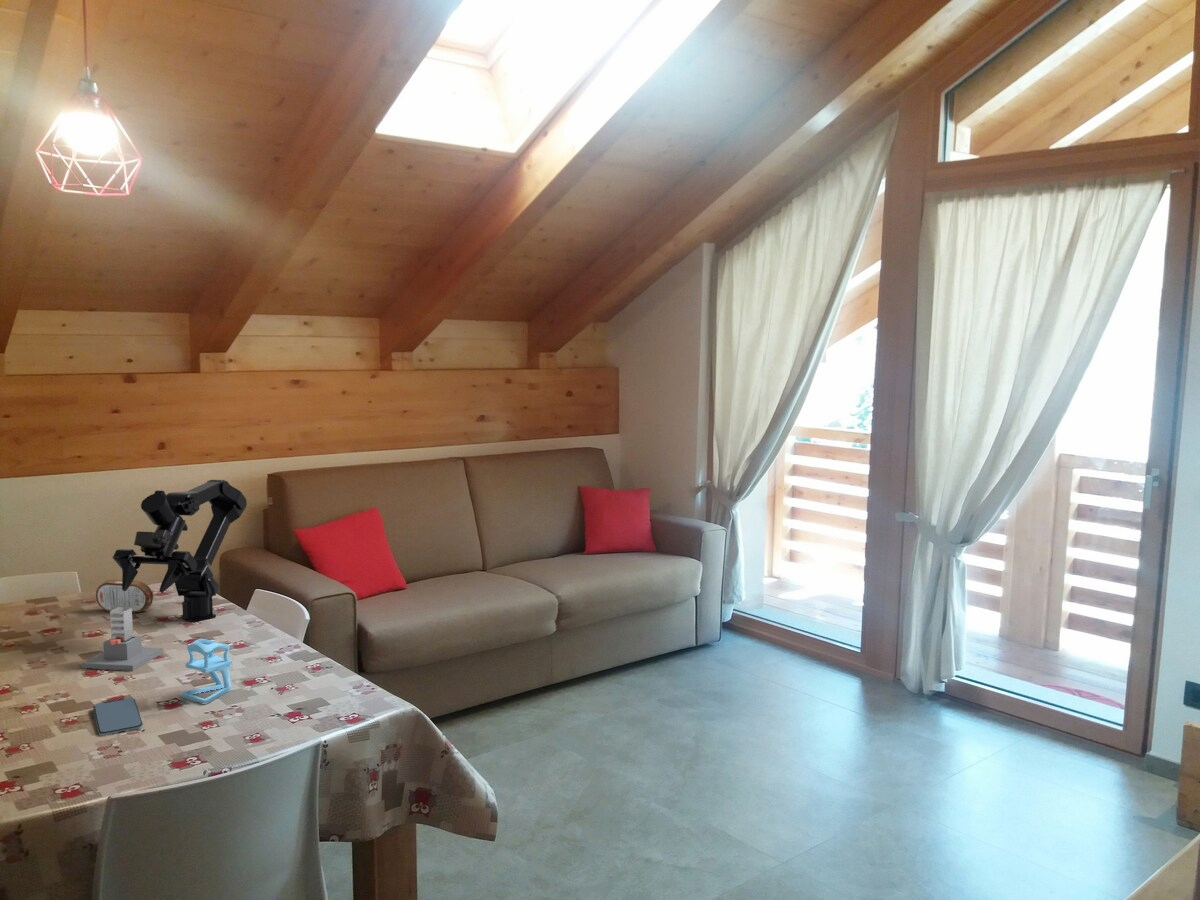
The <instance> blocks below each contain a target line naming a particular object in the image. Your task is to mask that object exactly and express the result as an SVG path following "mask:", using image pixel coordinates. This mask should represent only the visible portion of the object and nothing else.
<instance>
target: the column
mask: <svg viewBox="0 0 1200 900" xmlns="http://www.w3.org/2000/svg"><path fill="white" fill-rule="evenodd" d="M109 615H110V616H109V617H110V618H109V619H110V622H109V623H110V639H121V642H127V641H129V640H131V639H133V636H134V630H133V613H132V608H126V607H118V608H116V609H114V610H111V611H109Z"/></svg>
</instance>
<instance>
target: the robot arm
mask: <svg viewBox="0 0 1200 900" xmlns="http://www.w3.org/2000/svg"><path fill="white" fill-rule="evenodd" d="M247 502H248V501H247V498H246V496H245V495H244V494H243V492H242V491H241V490H239V489H237V488H236V487H234V486H232V485H231V484H230V483H229V482H228V481H227V480H225V479H210V480H207V481H206V482H204V483H201V484H200V485H198V486H195V487H193V488H191V489H189V490H185V491H174V492H168V493H167V494H166V492H165V490H159V489H158V490H154V493H153V494H150V495H148V496H147V497H145V498H144V499H142V501H141V503H140V508H141V510H142V512H143V513H144V514H145V515H146V517H147V518H148V520H150V522H151V523H152V524H153V525H155V526H156V528H155V530H154V532H153V531H136V533H135V538H134V543H133V545H134V546H138V547H140V549H139V550H140V551H141V553H143V554H144V555H143V554H137V553H136V551H134V549H133V548H130V549H127V548H118V549H116V550H115V551H114V553H113V555H112V559H113V560H114V561H115V563H116V564H117V566H119V567H120V569H121V572H122V577H121V578H122V579H121V580H122V590H123V591H126V590H127V589H128V588H129V586H130V584H131V583H132V581H135V578H136V576H137V575H138V573H139V571H138V569H140V566H141V564H143V565H145V564H146V565H148V564H149V565H160V566H161V565H163V566H164V565H165V566H166V565H167V569H166V573H165V575H164V578H163V579H162V581H161V584H160V587H159V592H160V594H163V593H165V592H166V591H167V590H168V589H169V588H170V587H171V586H173V585H175V589H176V592H177V596H179V597H183V601H182V603H181V604H182V607H181V608H182V614H181V615H180V616H181V617H180V618H182V619H185V620H188V621H190V622H199V621H203V620H206V619H207V620H208V619H212V618H215V617H217V614H215V613H214V609H213V607H214V606H213V597H214V596H216V595H217V594H218V591H219V584H218V582H217V581H216V580H215V579H214V573H213V568H212V564H213V562H214V560H215V558H216V556H217V554H218V551H219V550H220V547H221V545H222V543H223V541H224V538H225V535H226V534H227V531H228V530H229V528H230V525H231V524H232V523H234V522H235V521H237V520H239V518H241V516H242V514H243V513H244V511H245V509H246V508H247V504H248V503H247ZM205 503H209V504H210V505H211V506H210V508H211V513H212V518H211V519H210V521H209V524H208V525H207V528H206V530H205V532H204V534H203V537H202V538H201V540H200V543H199V545H198V546H197V548H196V551H195V553H194V555H192V554H191V552H190V551H184V550H183V551H182V550H179V545H178V541H179V539H180V536H181V534H182V533H183V532H182V531H185V532H187V531H188V530H189V529H188V524H186V520H185V519H184V518H183V517H184V516H185V517H191V516H194V515H195V514H196V513H198V511H199V510H200V506H201V505H203V504H205ZM174 550H175V551H174Z"/></svg>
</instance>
